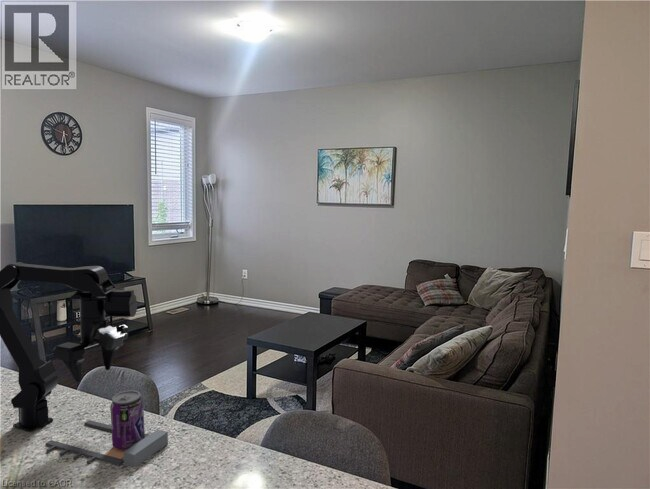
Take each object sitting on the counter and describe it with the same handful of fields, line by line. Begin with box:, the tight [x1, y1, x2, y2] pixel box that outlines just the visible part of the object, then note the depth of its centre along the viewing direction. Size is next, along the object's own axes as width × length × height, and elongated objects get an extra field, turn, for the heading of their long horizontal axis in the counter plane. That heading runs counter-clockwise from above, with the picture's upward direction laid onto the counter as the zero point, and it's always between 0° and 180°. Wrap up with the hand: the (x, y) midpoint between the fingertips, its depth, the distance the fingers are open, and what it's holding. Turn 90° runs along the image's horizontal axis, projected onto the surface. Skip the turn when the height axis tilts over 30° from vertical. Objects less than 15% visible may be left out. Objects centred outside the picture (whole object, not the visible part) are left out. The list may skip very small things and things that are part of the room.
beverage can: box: [109, 390, 146, 450], centre depth 108 cm, size 7×7×12 cm
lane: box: [45, 419, 169, 469], centre depth 109 cm, size 26×14×3 cm, turn 70°
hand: (93, 375), depth 118 cm, fingers open, 9 cm apart
